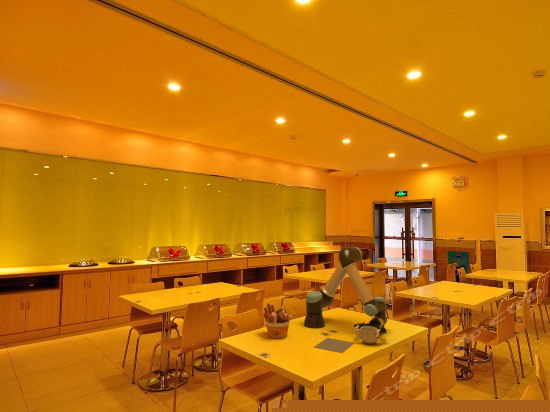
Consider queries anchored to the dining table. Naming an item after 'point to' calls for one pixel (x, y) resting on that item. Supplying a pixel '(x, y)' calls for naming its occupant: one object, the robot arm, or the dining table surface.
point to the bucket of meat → (276, 322)
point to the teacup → (367, 334)
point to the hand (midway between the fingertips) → (365, 332)
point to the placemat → (334, 345)
